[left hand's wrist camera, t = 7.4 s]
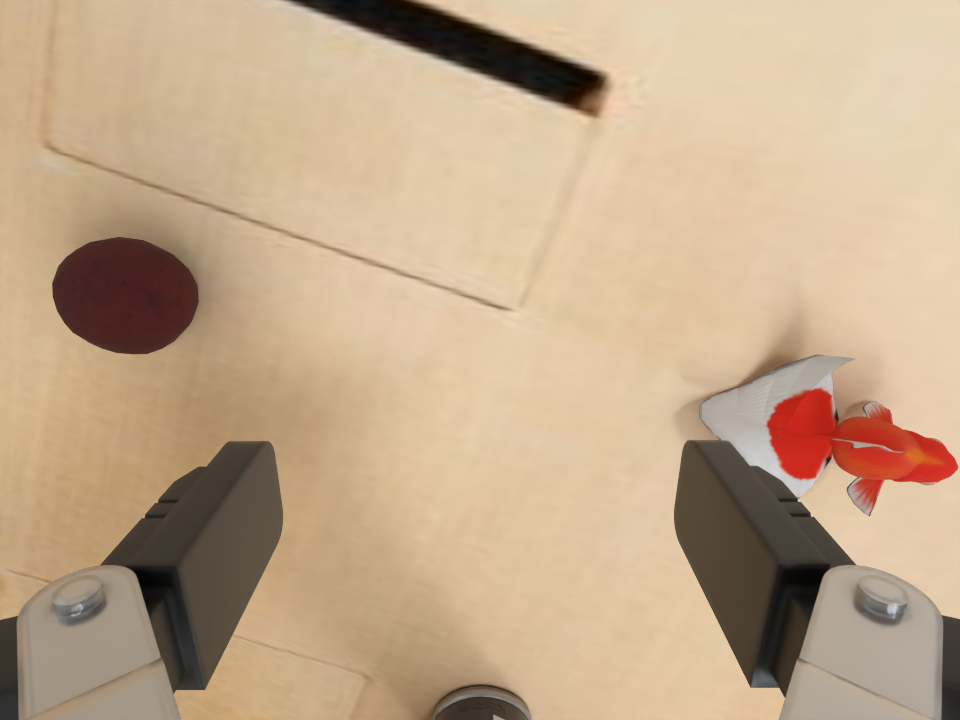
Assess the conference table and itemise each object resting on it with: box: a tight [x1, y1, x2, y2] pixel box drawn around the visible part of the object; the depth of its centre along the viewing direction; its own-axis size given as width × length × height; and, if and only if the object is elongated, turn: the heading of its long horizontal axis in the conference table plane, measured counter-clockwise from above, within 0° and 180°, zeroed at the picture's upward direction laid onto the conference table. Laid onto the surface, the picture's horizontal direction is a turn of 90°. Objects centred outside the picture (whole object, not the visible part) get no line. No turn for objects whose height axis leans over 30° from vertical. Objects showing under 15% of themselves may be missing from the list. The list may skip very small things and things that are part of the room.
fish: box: [699, 355, 958, 516], centre depth 40 cm, size 11×16×10 cm
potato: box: [52, 237, 198, 354], centre depth 36 cm, size 7×8×7 cm
